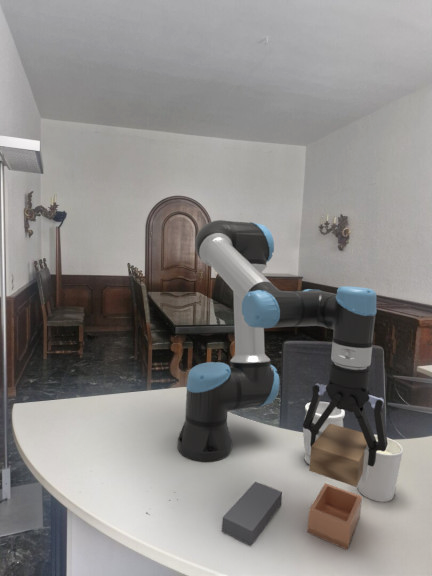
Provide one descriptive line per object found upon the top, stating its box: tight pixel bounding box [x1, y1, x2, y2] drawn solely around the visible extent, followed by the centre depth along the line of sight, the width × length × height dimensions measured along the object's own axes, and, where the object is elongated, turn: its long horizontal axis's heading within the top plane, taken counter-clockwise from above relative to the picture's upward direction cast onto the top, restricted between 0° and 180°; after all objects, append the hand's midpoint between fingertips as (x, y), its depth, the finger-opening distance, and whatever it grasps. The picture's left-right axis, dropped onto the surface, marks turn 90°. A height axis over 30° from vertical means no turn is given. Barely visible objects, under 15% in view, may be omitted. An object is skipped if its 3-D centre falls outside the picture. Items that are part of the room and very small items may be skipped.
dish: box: [307, 483, 363, 551], centre depth 83 cm, size 8×11×5 cm
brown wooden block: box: [308, 424, 367, 488], centre depth 81 cm, size 9×13×5 cm
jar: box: [302, 401, 346, 466], centre depth 107 cm, size 11×10×15 cm
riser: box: [221, 481, 283, 546], centre depth 84 cm, size 7×15×3 cm, turn 149°
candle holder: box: [356, 434, 404, 503], centre depth 95 cm, size 10×10×12 cm
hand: (340, 470), depth 82 cm, fingers closed on brown wooden block, 9 cm apart
